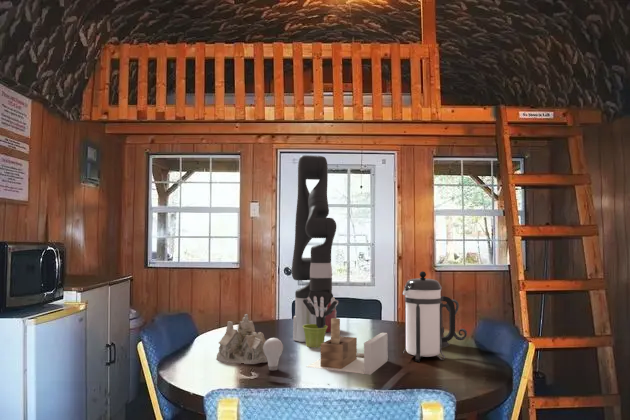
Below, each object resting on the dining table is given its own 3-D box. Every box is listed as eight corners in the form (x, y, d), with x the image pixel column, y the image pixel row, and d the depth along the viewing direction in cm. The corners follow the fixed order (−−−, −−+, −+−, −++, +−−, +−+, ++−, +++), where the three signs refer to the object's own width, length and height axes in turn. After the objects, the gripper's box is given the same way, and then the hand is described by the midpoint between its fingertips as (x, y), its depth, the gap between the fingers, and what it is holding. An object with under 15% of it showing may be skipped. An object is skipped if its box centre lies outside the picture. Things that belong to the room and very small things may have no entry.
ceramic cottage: (212, 356, 181) (215, 313, 181) (257, 353, 188) (260, 312, 188) (225, 369, 167) (228, 323, 167) (272, 366, 174) (275, 321, 174)
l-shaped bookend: (306, 371, 162) (306, 337, 162) (328, 358, 178) (328, 328, 179) (370, 379, 153) (370, 343, 154) (387, 365, 170) (387, 333, 170)
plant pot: (330, 348, 195) (330, 324, 195) (322, 353, 186) (323, 329, 187) (307, 346, 198) (307, 323, 199) (298, 351, 189) (298, 327, 190)
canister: (341, 329, 233) (342, 290, 234) (327, 334, 222) (327, 292, 223) (317, 326, 240) (317, 288, 241) (302, 330, 229) (302, 290, 230)
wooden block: (357, 363, 175) (356, 356, 174) (359, 358, 178) (358, 351, 177) (385, 366, 171) (384, 359, 170) (387, 361, 174) (386, 354, 173)
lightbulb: (263, 371, 161) (263, 336, 162) (282, 371, 162) (283, 335, 162) (262, 377, 155) (263, 340, 156) (283, 376, 156) (283, 339, 156)
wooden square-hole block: (320, 366, 162) (320, 343, 162) (337, 356, 175) (337, 335, 175) (341, 369, 159) (341, 346, 159) (356, 359, 172) (356, 337, 172)
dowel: (329, 357, 163) (329, 319, 164) (332, 355, 166) (333, 317, 166) (337, 358, 162) (338, 319, 163) (340, 356, 164) (341, 318, 165)
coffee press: (440, 365, 170) (439, 273, 171) (394, 359, 178) (394, 271, 180) (455, 355, 184) (455, 270, 186) (413, 349, 193) (413, 268, 194)
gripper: (298, 276, 175) (298, 328, 174) (334, 277, 170) (334, 331, 169) (307, 275, 182) (307, 324, 181) (343, 276, 176) (343, 327, 175)
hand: (320, 327), depth 175 cm, fingers closed
